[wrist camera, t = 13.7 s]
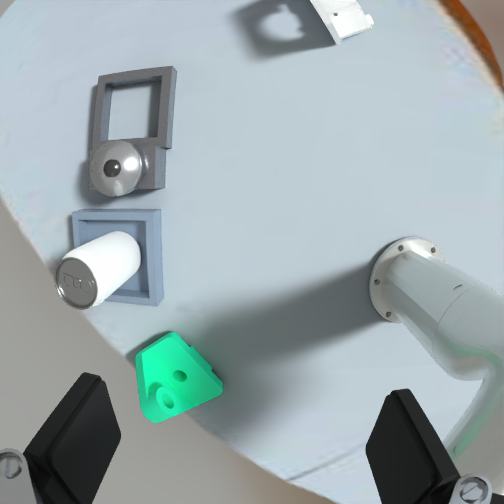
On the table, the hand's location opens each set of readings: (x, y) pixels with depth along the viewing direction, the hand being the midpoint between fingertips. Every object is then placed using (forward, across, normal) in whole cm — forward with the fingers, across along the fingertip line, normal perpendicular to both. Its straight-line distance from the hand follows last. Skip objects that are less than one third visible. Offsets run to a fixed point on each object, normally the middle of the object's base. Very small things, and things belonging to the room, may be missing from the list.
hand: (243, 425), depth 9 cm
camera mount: (+31, +10, +20) cm, 38 cm away
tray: (+30, +18, +3) cm, 35 cm away
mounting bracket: (+31, -8, -32) cm, 45 cm away
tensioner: (+30, +16, -13) cm, 37 cm away
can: (+30, +18, +3) cm, 35 cm away
